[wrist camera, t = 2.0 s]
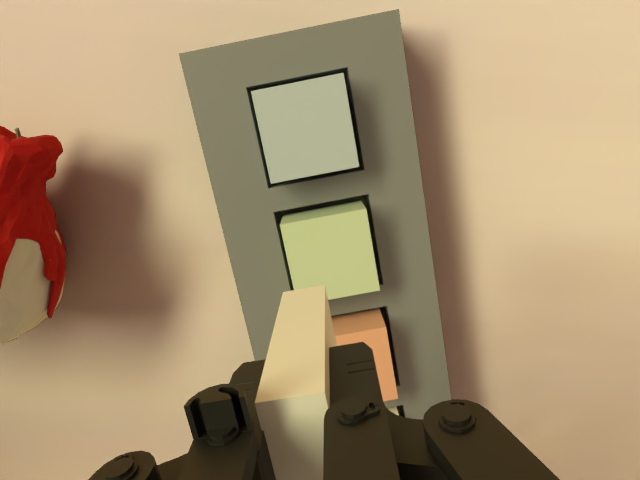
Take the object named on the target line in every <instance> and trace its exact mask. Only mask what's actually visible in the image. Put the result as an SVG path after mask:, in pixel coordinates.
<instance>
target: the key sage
mask: <svg viewBox="0 0 640 480" xmlns="http://www.w3.org/2000/svg"><path fill="white" fill-rule="evenodd" d="M280 228H281V233H282V238H283V242H284V247H285V251H286V256H287V261H288V265H289V270H290V275H291V279H292V284H293V288H294V290H298V289H303V288H309V287H315V286H320V285H325V287H326V293H327V298H328V300H330V299H336V298H341V297H347V296H352V295H358V294H363V293H369V292H374V291H380V287H379V281H378V275H377V269H376V263H375V257H374V252H373V246H372V240H371V234H370V228H369V222H368V216H367V210H366V207H365V206H364V204H363V203H362V201H355V202H350V203H345V204H340V205H334V206H329V207H324V208H319V209H313V210H308V211H303V212H297V213H292V214H287V215H283V217H282V220H281V223H280Z"/></svg>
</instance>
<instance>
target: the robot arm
mask: <svg viewBox="0 0 640 480" xmlns="http://www.w3.org/2000/svg"><path fill="white" fill-rule="evenodd" d="M184 409H185V412H186V416H187V419H188V422H189V426H190V429H191V433H192V436H193V439H194V440H193V442H192V445H191V447H190V450H189V452H188V453H187V454H185V455H182V456H180V457H178V458H175V459H173V460H170V461H167V462H165V463H162V464H160V465H156V462H155V458H154V457H153V456H152V455H151V454H150V453H149V452H144V451H135V452H129V453H126V454H124V455H120V456H118V457H116V458H114V459H113V460H111V461H109V462H108V463H106V464H104V465H103V466H102V467H101V468H100V469H99V470H98V471H96V472H95V473H94V474H93V475H92V476H91V477H90V479H89V480H560V479H559V478H558V477H556V476H555V475H554V474H553V473H552V472H551V471H550V470H549V469H548V468H547V467H546V466H545V465H544V464H543V463H542V462H541V461H540V460H539V459H538V458H537V457H536V456H535V455H534V454H533V453H532V452H531V451H530V450H529V449H528V448H526V447H525V446H524V445H523V444H522V443H521V442H520V441H519V440H518V439H517V438H516V437H515V436H514V435H513V434H512V433H511V432H510V431H509V430H508V429H507V428H506V427H505V426H504V425H503V424H502V423H501V422H500V421H499V420H498V419H496V418H495V417H494V416H493V415H492V414H491V413H490V412H489V411H488V410H487V409H485V408H484V407H482V406H481V405H479V404H477V403H474V402H471V401H467V400H454V399H453V400H448V401H442V402H439V403H437V404H435V405H433V406H431V407H430V408H429V409H428V410H427V411H426V412H425V414H424V418H423V420H422V419H411V418H404V417H402V416H399V415H396V414H394V413H393V412H391V411H389V409H388V408H387V407H386V406H385V404H384V402H383V398H382V394H381V389H380V384H379V379H378V374H377V370H376V365H375V360H374V355H373V351H372V349H371V348H370V347H369V346H368V345H367V344H365V343H364V342H358V343H352V344H346V345H340V346H337V343H336V338H335V333H334V328H333V323H332V318H331V313H330V308H329V303H328V298H327V293H326V287H325V285H320V286H315V287H309V288H303V289H298V290H292V291H286V292H283V294H282V298H281V302H280V306H279V310H278V314H277V317H276V321H275V325H274V329H273V333H272V337H271V341H270V345H269V349H268V353H267V357H266V359H264V360H258V361H252V362H246V363H243V364H242V365H241V366H240V367H239V368H238V369H237V370H236V371H235V372H234V373H233V375H232V378H231V380H230V383H229V384H220V385H216V386H213V387H209V388H207V389H205V390H203V391H201V392H199V393H197V394H196V395H194V396H193V397H192V398H190V399H189V400H188V402H187V403H186V404H185V406H184Z"/></svg>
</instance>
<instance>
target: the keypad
mask: <svg viewBox="0 0 640 480" xmlns="http://www.w3.org/2000/svg"><path fill="white" fill-rule="evenodd" d="M179 56H180V60H181V64H182V68H183V72H184V76H185V80H186V85H187V89H188V93H189V97H190V101H191V105H192V109H193V113H194V117H195V121H196V125H197V129H198V133H199V137H200V141H201V145H202V149H203V153H204V157H205V161H206V165H207V169H208V173H209V177H210V181H211V185H212V189H213V193H214V197H215V201H216V205H217V209H218V213H219V217H220V221H221V225H222V229H223V233H224V237H225V241H226V245H227V249H228V253H229V257H230V261H231V266H232V270H233V274H234V278H235V282H236V286H237V290H238V294H239V298H240V302H241V306H242V310H243V314H244V318H245V322H246V326H247V330H248V334H249V338H250V342H251V346H252V350H253V354H254V358H255V361H258V360H264V359H266V357H267V353H268V349H269V345H270V341H271V337H272V333H273V329H274V325H275V321H276V317H277V314H278V310H279V306H280V302H281V298H282V294H283V292H286V291H292V290H294V288H293V284H292V279H291V275H290V270H289V265H288V261H287V256H286V251H285V247H284V242H283V238H282V233H281V228H280V223H281V220H282V217H283V215H287V214H292V213H297V212H303V211H308V210H313V209H319V208H324V207H329V206H334V205H340V204H345V203H350V202H355V201H362V203H363V204H364V206H365V207H366V210H367V216H368V222H369V228H370V234H371V240H372V246H373V252H374V257H375V263H376V269H377V275H378V281H379V287H380V291H374V292H369V293H363V294H358V295H352V296H347V297H341V298H336V299H330V300H328V303H329V308H330V313H331V317H333V316H339V315H344V314H350V313H355V312H360V311H366V310H371V309H377V308H379V309H380V311H381V314H382V317H383V320H384V322H385V325H386V329H387V335H388V341H389V347H390V353H391V359H392V365H393V371H394V377H395V383H396V389H397V395H398V399H394V400H388V401H383V402H384V404H385V406H386V407H387V408H388V407H394V406H396V407H397V411H398V414H399V416H402V417H404V418H411V419H422V420H423V418H424V414H425V412H426V411H427V410H428V409H429V408H430V407H431V406H433V405H435V404H437V403H439V402H442V401H448V400H452V399H451V392H450V384H449V377H448V370H447V362H446V355H445V347H444V340H443V333H442V325H441V318H440V310H439V303H438V296H437V288H436V281H435V273H434V266H433V259H432V251H431V244H430V237H429V229H428V222H427V214H426V207H425V200H424V192H423V185H422V177H421V170H420V163H419V155H418V148H417V140H416V133H415V126H414V118H413V111H412V103H411V96H410V89H409V81H408V74H407V66H406V59H405V52H404V44H403V37H402V29H401V22H400V15H399V9H397V10H392V11H387V12H382V13H377V14H372V15H367V16H362V17H358V18H353V19H348V20H343V21H338V22H333V23H328V24H323V25H318V26H313V27H308V28H303V29H299V30H294V31H289V32H284V33H279V34H274V35H269V36H264V37H259V38H254V39H249V40H244V41H240V42H235V43H230V44H225V45H220V46H215V47H210V48H205V49H200V50H195V51H190V52H185V53H181V54H179ZM339 73H344V78H345V84H346V90H347V96H348V102H349V108H350V114H351V120H352V126H353V132H354V138H355V144H356V150H357V156H358V162H359V167H355V168H350V169H345V170H340V171H335V172H329V173H324V174H319V175H314V176H309V177H304V178H298V179H293V180H288V181H283V182H278V183H272V184H271V182H270V178H269V173H268V168H267V164H266V159H265V155H264V150H263V145H262V141H261V136H260V131H259V127H258V122H257V118H256V113H255V108H254V104H253V99H252V94H251V91H254V90H259V89H264V88H269V87H274V86H279V85H284V84H289V83H294V82H299V81H304V80H309V79H314V78H319V77H324V76H329V75H334V74H339Z"/></svg>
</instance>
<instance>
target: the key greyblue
mask: <svg viewBox="0 0 640 480" xmlns="http://www.w3.org/2000/svg"><path fill="white" fill-rule="evenodd" d="M251 94H252V99H253V104H254V108H255V113H256V118H257V122H258V127H259V131H260V136H261V141H262V145H263V150H264V155H265V159H266V164H267V168H268V173H269V178H270V182H271V184H272V183H278V182H283V181H288V180H293V179H298V178H304V177H309V176H314V175H319V174H324V173H329V172H335V171H340V170H345V169H350V168H355V167H359V162H358V156H357V150H356V144H355V138H354V132H353V126H352V120H351V114H350V108H349V102H348V96H347V90H346V84H345V78H344V73H339V74H334V75H329V76H324V77H319V78H314V79H309V80H304V81H299V82H294V83H289V84H284V85H279V86H274V87H269V88H264V89H259V90H254V91H251Z"/></svg>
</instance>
